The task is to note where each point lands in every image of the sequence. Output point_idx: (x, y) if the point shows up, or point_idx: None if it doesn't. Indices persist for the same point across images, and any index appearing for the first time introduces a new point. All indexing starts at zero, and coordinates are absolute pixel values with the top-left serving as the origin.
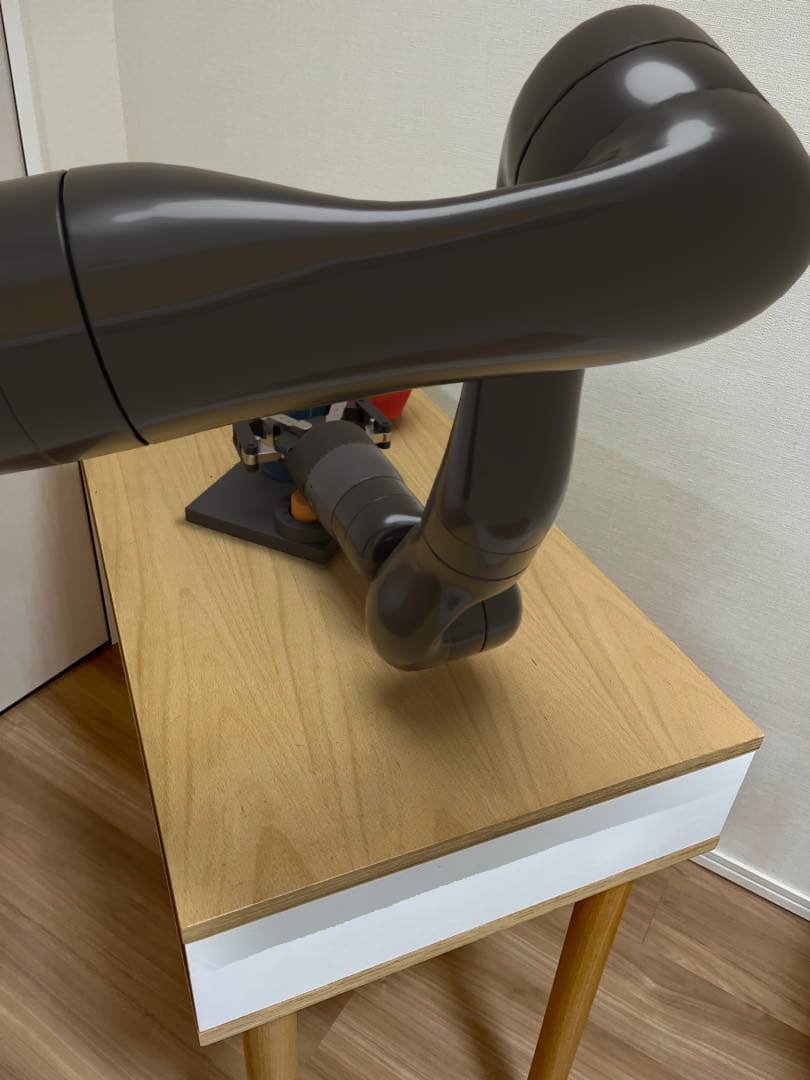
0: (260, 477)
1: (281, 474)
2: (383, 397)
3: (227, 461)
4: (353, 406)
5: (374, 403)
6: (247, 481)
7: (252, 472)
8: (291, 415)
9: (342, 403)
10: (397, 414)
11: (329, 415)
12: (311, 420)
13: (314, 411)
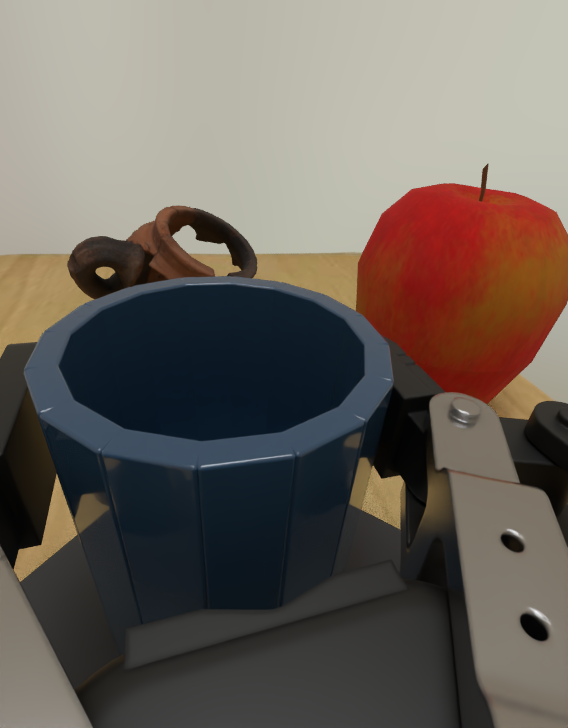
0: (89, 658)
1: None
2: (488, 364)
3: (67, 509)
4: (526, 452)
5: (459, 376)
6: None
7: (75, 618)
8: (169, 526)
9: (485, 444)
10: (492, 397)
11: (488, 656)
12: (301, 650)
13: (323, 493)
